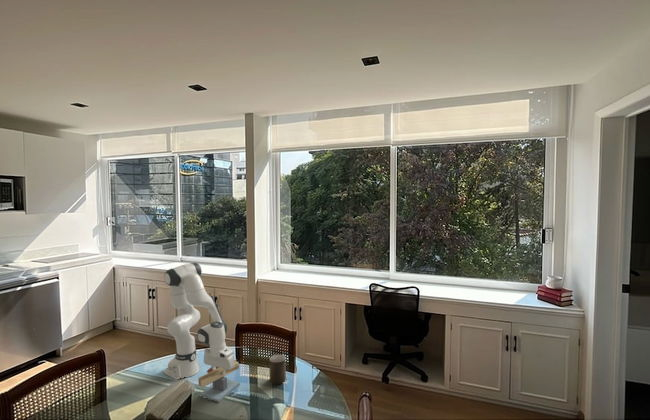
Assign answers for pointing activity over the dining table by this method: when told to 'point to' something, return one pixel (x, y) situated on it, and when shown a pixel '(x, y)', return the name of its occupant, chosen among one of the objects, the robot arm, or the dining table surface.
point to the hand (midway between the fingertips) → (219, 373)
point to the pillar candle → (277, 369)
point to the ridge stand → (220, 389)
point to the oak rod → (216, 375)
